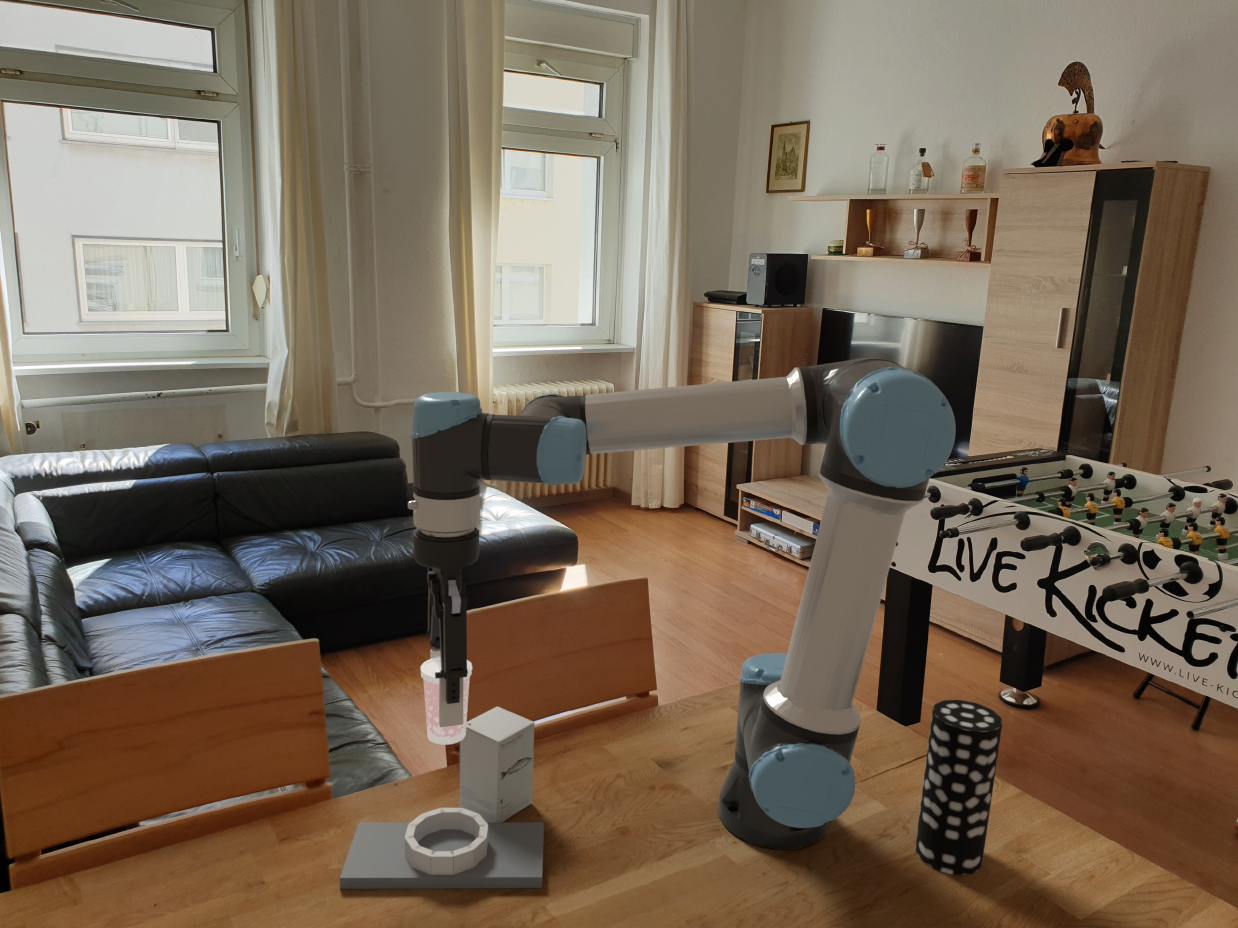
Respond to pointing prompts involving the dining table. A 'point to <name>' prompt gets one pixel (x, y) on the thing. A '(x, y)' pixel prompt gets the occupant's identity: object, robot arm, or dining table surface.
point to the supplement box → (497, 765)
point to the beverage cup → (432, 704)
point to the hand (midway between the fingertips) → (446, 710)
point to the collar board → (445, 853)
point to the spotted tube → (958, 786)
